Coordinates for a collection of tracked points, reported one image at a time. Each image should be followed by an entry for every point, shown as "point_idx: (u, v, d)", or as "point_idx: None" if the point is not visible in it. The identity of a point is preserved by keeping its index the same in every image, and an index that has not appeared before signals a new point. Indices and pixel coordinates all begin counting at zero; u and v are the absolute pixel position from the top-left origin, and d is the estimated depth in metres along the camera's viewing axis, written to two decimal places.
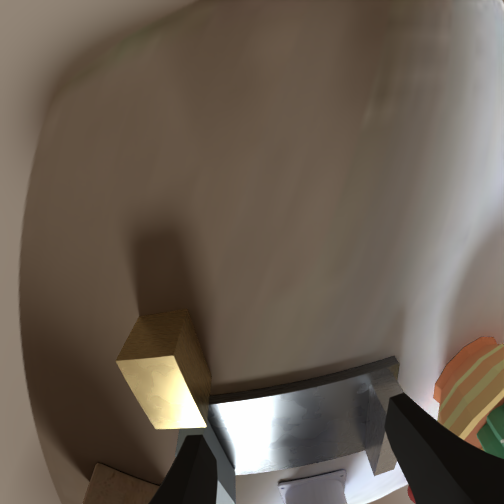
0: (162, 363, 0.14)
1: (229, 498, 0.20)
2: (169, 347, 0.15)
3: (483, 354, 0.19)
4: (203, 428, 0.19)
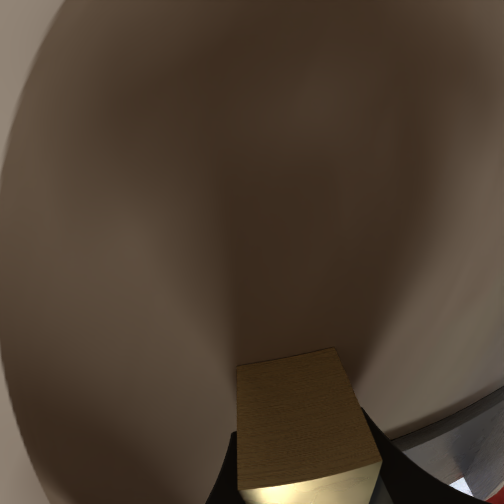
0: (350, 478, 0.05)
1: None
2: (359, 442, 0.06)
3: None
4: None
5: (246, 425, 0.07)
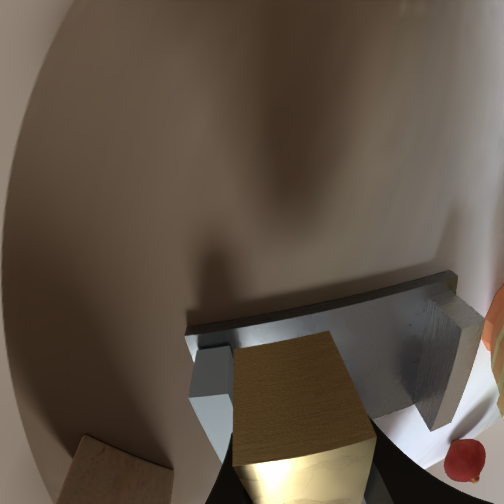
0: (344, 455, 0.06)
1: None
2: (353, 419, 0.06)
3: None
4: (228, 360, 0.16)
5: (242, 404, 0.08)
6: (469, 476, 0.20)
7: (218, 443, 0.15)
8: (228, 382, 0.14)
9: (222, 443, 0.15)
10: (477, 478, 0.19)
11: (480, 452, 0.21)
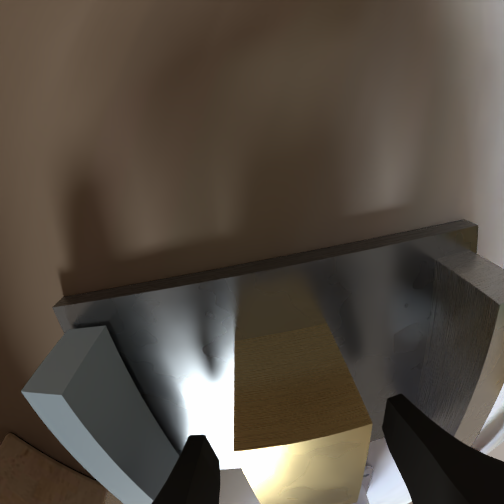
0: (342, 441, 0.06)
1: None
2: (349, 406, 0.07)
3: None
4: (91, 345, 0.09)
5: (242, 392, 0.08)
6: None
7: (90, 468, 0.08)
8: (73, 378, 0.07)
9: (96, 469, 0.08)
10: None
11: None
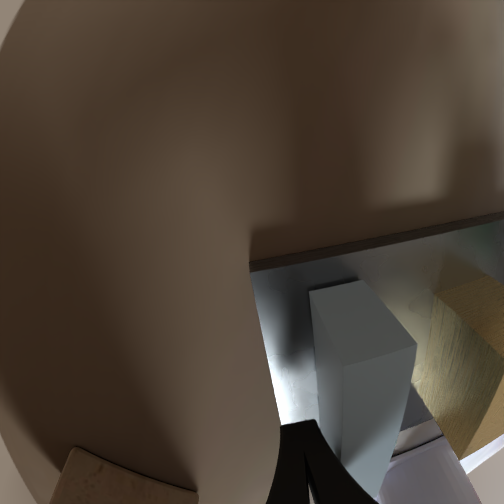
0: None
1: (378, 485, 0.09)
2: None
3: None
4: (376, 297, 0.09)
5: (477, 325, 0.08)
6: None
7: (353, 452, 0.08)
8: (401, 328, 0.07)
9: (359, 451, 0.08)
10: None
11: None
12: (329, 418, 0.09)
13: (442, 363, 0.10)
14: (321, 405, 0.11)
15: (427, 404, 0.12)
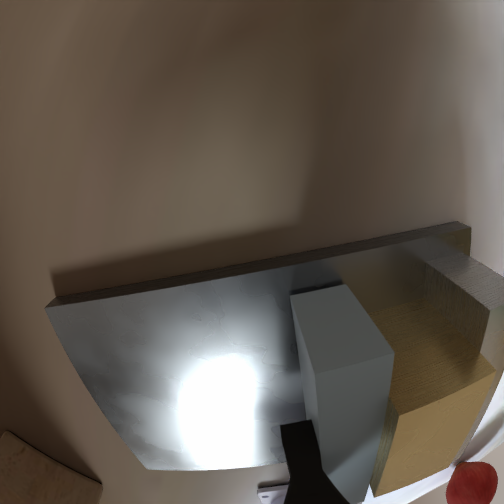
0: (474, 391, 0.06)
1: (364, 490, 0.09)
2: (475, 360, 0.07)
3: None
4: (357, 302, 0.09)
5: None
6: None
7: (333, 458, 0.08)
8: (380, 335, 0.07)
9: (340, 456, 0.08)
10: None
11: (491, 479, 0.14)
12: None
13: None
14: (306, 409, 0.11)
15: None
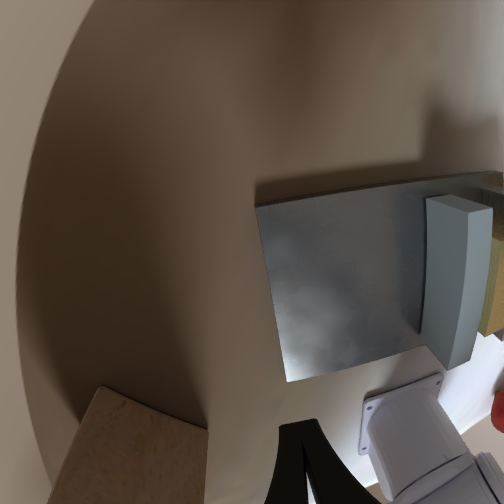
0: None
1: (473, 340, 0.14)
2: None
3: None
4: (462, 198, 0.14)
5: None
6: None
7: (468, 289, 0.13)
8: (481, 205, 0.12)
9: (471, 288, 0.13)
10: None
11: None
12: (445, 278, 0.15)
13: None
14: (430, 283, 0.16)
15: None
